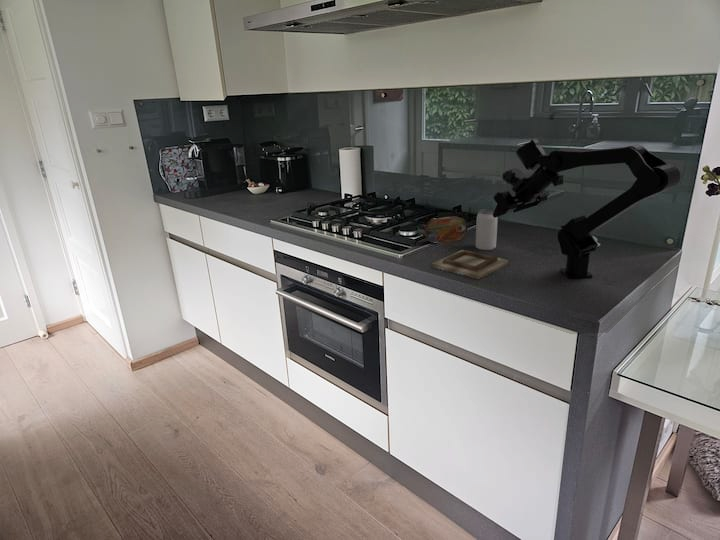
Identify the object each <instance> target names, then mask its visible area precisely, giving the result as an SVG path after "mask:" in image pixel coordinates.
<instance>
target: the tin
mask: <svg viewBox="0 0 720 540" xmlns="http://www.w3.org/2000/svg"><path fill="white" fill-rule="evenodd" d="M467 232H468V223H467V221H466V219H465V218H463V217H459V216H455V215H454V216H445V217H439V218H438V217H437V218H433V219H430V220H429V221H428V222H427V223H426V224H425V226H424V236H425V238H426V239H427V241H429V242H430V243H432V242H441V243H440V244H444V243H451V242H458V241H460V240H462V239H463V238H464V237H465V236H466V234H467Z"/></svg>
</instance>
